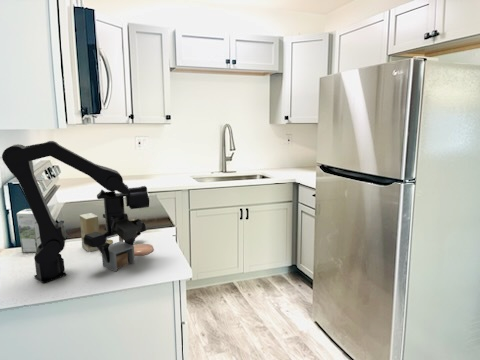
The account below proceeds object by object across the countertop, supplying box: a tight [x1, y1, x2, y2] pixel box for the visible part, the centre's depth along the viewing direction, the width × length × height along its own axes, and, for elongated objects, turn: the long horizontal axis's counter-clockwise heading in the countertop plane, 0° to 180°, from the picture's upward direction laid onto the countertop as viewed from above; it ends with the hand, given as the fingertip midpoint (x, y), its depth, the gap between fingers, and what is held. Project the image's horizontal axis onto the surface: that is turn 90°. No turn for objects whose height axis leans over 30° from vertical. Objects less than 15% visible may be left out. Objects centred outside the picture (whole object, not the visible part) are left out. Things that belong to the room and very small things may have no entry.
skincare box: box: [79, 212, 100, 253], centre depth 122 cm, size 6×4×12 cm
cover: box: [101, 241, 136, 272], centre depth 109 cm, size 7×7×6 cm
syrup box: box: [16, 208, 41, 254], centre depth 121 cm, size 6×6×14 cm
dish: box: [133, 243, 154, 257], centre depth 120 cm, size 9×9×1 cm
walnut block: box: [116, 251, 129, 269], centre depth 109 cm, size 4×4×4 cm
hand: (118, 258), depth 109 cm, fingers closed on cover, 7 cm apart
